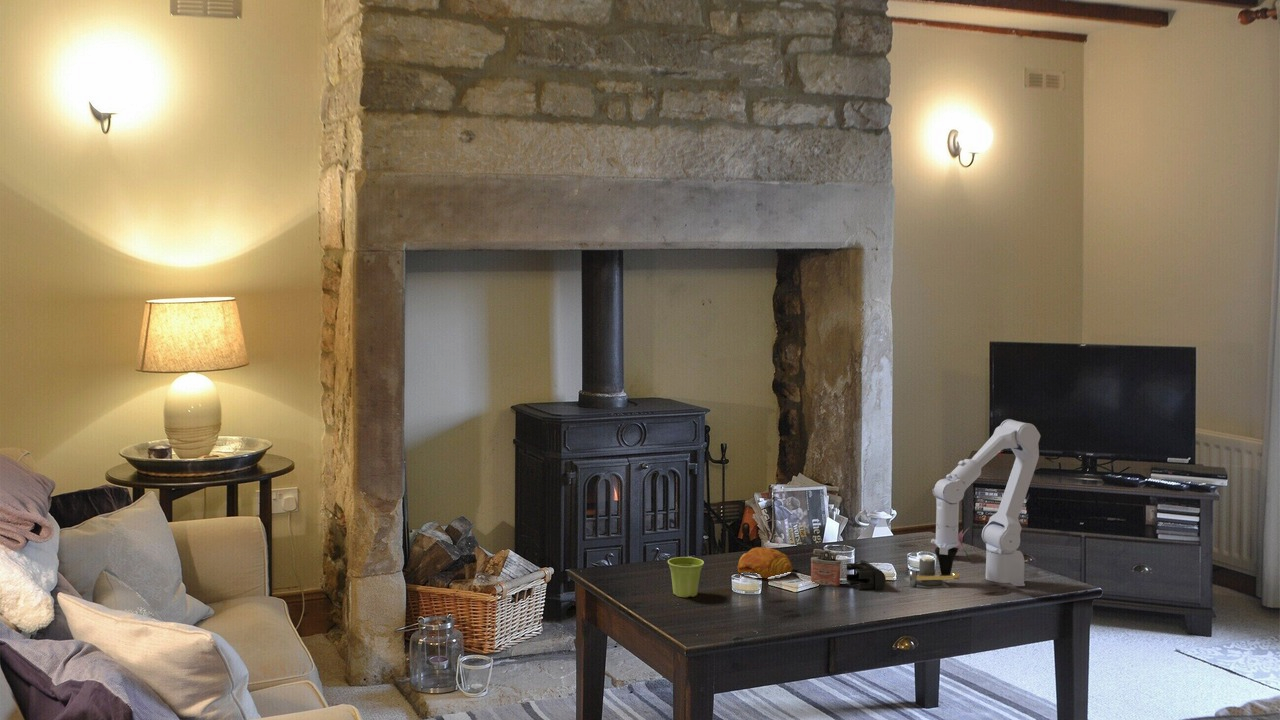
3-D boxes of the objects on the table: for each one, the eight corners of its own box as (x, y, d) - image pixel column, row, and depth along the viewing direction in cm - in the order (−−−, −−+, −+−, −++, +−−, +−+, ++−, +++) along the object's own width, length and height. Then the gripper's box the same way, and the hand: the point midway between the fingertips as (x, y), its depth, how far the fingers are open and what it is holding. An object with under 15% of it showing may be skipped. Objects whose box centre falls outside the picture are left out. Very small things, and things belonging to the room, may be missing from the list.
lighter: (841, 587, 297) (842, 550, 297) (838, 590, 294) (839, 553, 294) (812, 583, 301) (813, 546, 300) (808, 586, 298) (809, 549, 297)
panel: (952, 581, 304) (952, 576, 304) (971, 594, 291) (971, 590, 291) (894, 582, 303) (894, 577, 302) (911, 596, 290) (911, 591, 290)
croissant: (758, 571, 321) (755, 543, 321) (801, 574, 310) (799, 545, 310) (724, 579, 311) (722, 550, 311) (768, 583, 300) (766, 553, 300)
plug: (935, 578, 303) (936, 554, 302) (946, 586, 295) (947, 561, 294) (907, 578, 302) (907, 554, 301) (917, 586, 294) (918, 562, 293)
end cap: (885, 594, 291) (886, 568, 291) (860, 595, 290) (860, 570, 289) (870, 584, 301) (871, 559, 301) (845, 585, 300) (846, 560, 299)
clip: (957, 584, 296) (957, 569, 296) (960, 586, 295) (960, 571, 294) (908, 585, 295) (908, 570, 295) (910, 587, 293) (911, 572, 293)
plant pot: (707, 591, 293) (708, 558, 292) (697, 601, 284) (698, 567, 283) (673, 588, 296) (673, 555, 295) (662, 597, 287) (662, 564, 286)
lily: (964, 556, 336) (948, 527, 337) (992, 548, 327) (976, 519, 327) (940, 574, 330) (924, 544, 330) (968, 567, 320) (951, 537, 321)
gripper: (934, 518, 305) (933, 567, 306) (928, 529, 292) (926, 580, 293) (961, 520, 303) (960, 569, 304) (956, 531, 289) (954, 583, 290)
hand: (945, 575), depth 298 cm, fingers closed
